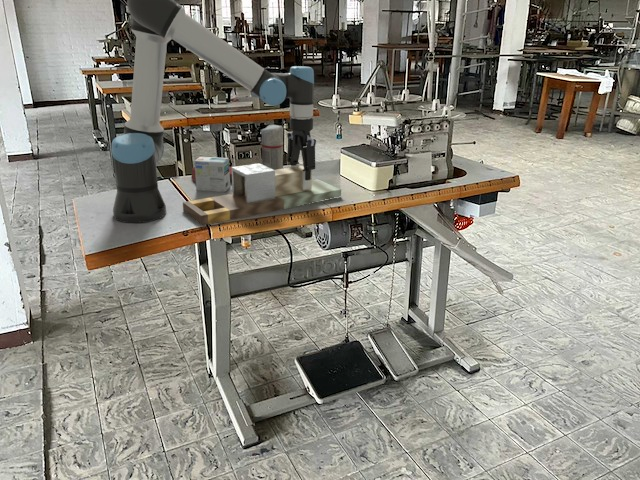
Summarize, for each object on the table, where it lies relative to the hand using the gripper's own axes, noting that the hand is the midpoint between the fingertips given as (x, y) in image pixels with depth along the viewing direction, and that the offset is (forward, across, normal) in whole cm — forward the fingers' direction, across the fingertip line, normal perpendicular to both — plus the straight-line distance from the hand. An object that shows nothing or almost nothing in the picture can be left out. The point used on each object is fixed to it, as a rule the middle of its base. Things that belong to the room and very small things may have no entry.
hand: (300, 186), depth 176 cm
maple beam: (+1, 0, +8) cm, 9 cm away
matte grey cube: (+1, 0, +18) cm, 18 cm away
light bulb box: (+4, +24, +21) cm, 32 cm away
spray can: (+4, +25, -4) cm, 26 cm away
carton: (+4, +33, +11) cm, 35 cm away
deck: (+4, 0, +13) cm, 14 cm away
